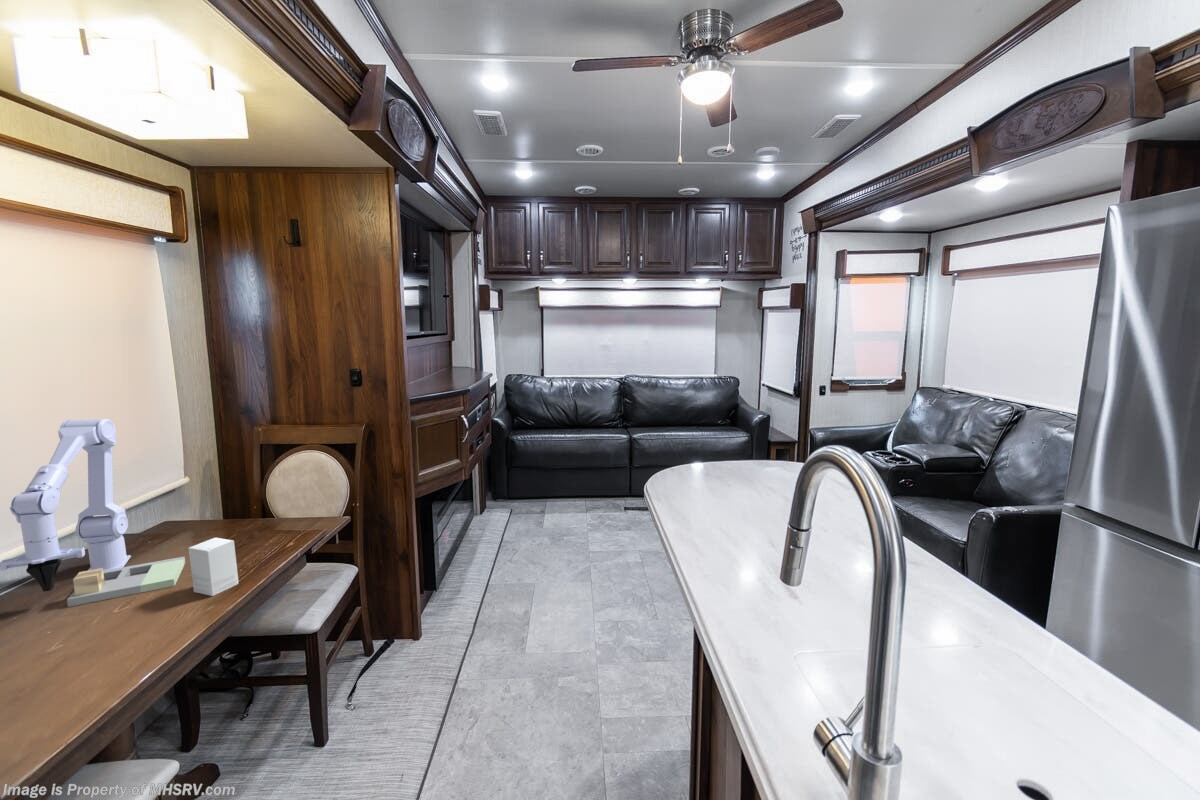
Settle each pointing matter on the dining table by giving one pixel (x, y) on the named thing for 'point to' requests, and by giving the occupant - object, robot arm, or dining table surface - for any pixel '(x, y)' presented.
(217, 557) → the supplement box
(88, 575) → the maple block
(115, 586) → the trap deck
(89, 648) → the dining table surface
